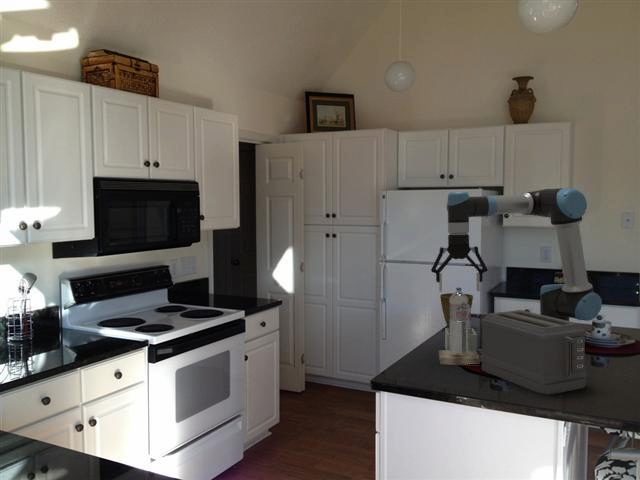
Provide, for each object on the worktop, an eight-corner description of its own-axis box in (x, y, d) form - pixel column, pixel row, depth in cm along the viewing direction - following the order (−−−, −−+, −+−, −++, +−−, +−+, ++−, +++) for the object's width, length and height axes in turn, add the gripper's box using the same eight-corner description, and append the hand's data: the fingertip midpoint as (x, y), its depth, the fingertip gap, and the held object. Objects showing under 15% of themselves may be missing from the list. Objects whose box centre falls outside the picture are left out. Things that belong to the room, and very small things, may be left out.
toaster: (549, 398, 178) (550, 331, 176) (477, 369, 208) (477, 312, 207) (594, 389, 185) (595, 325, 184) (518, 362, 216) (519, 308, 214)
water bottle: (469, 352, 221) (469, 286, 220) (467, 357, 215) (467, 289, 213) (450, 351, 223) (450, 286, 222) (448, 355, 217) (448, 288, 215)
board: (476, 357, 224) (476, 350, 224) (479, 365, 213) (479, 358, 213) (438, 356, 226) (438, 350, 225) (440, 364, 215) (440, 357, 215)
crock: (473, 348, 238) (473, 328, 237) (476, 355, 226) (476, 334, 226) (445, 347, 239) (445, 328, 239) (447, 354, 228) (447, 334, 227)
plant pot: (476, 332, 264) (476, 297, 263) (443, 333, 265) (443, 298, 264) (468, 325, 279) (468, 292, 278) (437, 326, 280) (437, 292, 278)
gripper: (491, 232, 218) (492, 289, 220) (423, 233, 222) (424, 289, 223) (495, 233, 211) (495, 292, 212) (424, 235, 214) (425, 292, 216)
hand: (459, 291), depth 218 cm, fingers open, 13 cm apart
